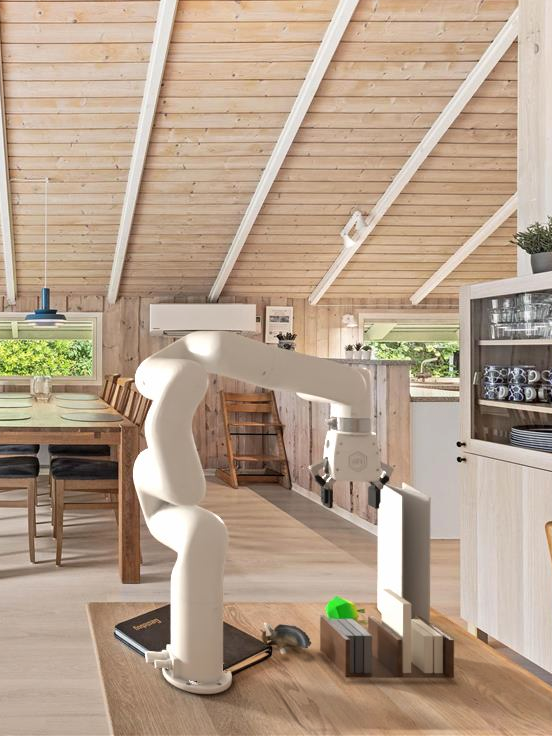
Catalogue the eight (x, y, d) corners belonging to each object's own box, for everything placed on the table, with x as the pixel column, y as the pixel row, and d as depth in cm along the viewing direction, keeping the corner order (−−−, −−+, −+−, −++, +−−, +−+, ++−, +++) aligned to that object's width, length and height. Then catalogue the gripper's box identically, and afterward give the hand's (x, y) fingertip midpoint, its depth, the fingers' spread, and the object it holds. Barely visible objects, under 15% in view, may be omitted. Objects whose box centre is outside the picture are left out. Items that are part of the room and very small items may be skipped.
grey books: (346, 673, 116) (346, 635, 116) (327, 653, 123) (327, 618, 123) (372, 673, 116) (372, 635, 116) (352, 653, 123) (352, 618, 123)
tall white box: (430, 639, 131) (430, 497, 131) (401, 637, 132) (401, 496, 132) (403, 610, 145) (403, 482, 145) (377, 608, 146) (378, 481, 146)
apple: (329, 593, 137) (364, 590, 138) (314, 603, 141) (349, 599, 143) (344, 627, 132) (380, 623, 134) (329, 636, 137) (364, 632, 138)
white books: (424, 673, 116) (424, 636, 116) (401, 654, 123) (401, 618, 123) (443, 673, 116) (443, 636, 116) (419, 654, 123) (419, 619, 123)
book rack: (345, 682, 115) (345, 639, 115) (320, 655, 125) (320, 615, 125) (454, 683, 115) (454, 640, 115) (419, 655, 125) (419, 615, 125)
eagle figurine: (265, 658, 121) (314, 656, 119) (257, 618, 125) (305, 615, 123) (265, 663, 127) (312, 661, 125) (258, 625, 131) (303, 622, 129)
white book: (402, 673, 116) (402, 603, 116) (381, 654, 123) (381, 588, 123) (411, 673, 116) (411, 603, 116) (389, 654, 123) (389, 588, 123)
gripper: (317, 428, 127) (317, 511, 127) (402, 428, 127) (402, 512, 127) (301, 422, 134) (301, 501, 134) (382, 423, 134) (381, 502, 134)
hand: (350, 506), depth 130 cm, fingers open, 9 cm apart
